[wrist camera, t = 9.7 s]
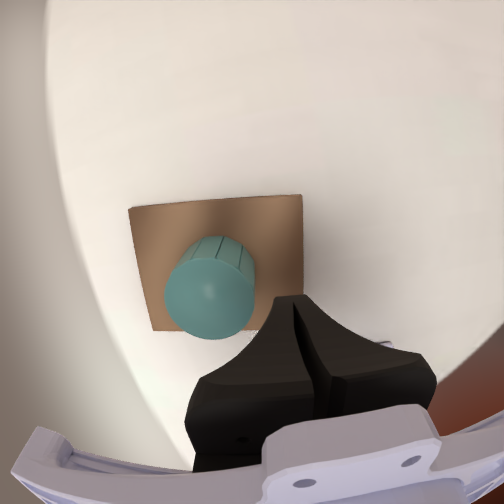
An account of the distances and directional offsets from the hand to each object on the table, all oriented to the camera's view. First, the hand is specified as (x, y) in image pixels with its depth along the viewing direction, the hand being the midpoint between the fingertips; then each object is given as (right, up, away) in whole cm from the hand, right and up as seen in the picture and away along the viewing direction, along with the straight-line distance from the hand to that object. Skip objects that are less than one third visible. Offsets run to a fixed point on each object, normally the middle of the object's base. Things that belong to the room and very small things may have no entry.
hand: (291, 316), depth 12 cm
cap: (-4, +1, +9) cm, 10 cm away
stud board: (-4, +2, +9) cm, 10 cm away
